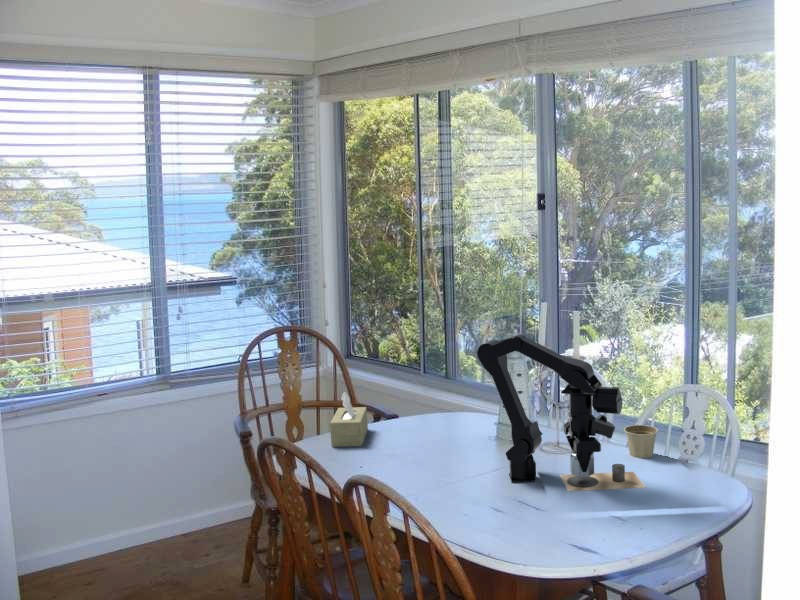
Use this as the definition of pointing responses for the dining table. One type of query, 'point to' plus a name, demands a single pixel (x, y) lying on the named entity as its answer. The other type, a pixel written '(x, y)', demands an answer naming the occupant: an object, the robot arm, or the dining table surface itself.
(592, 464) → the cap
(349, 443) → the tissue box
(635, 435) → the flower pot
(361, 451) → the dining table surface
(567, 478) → the board
